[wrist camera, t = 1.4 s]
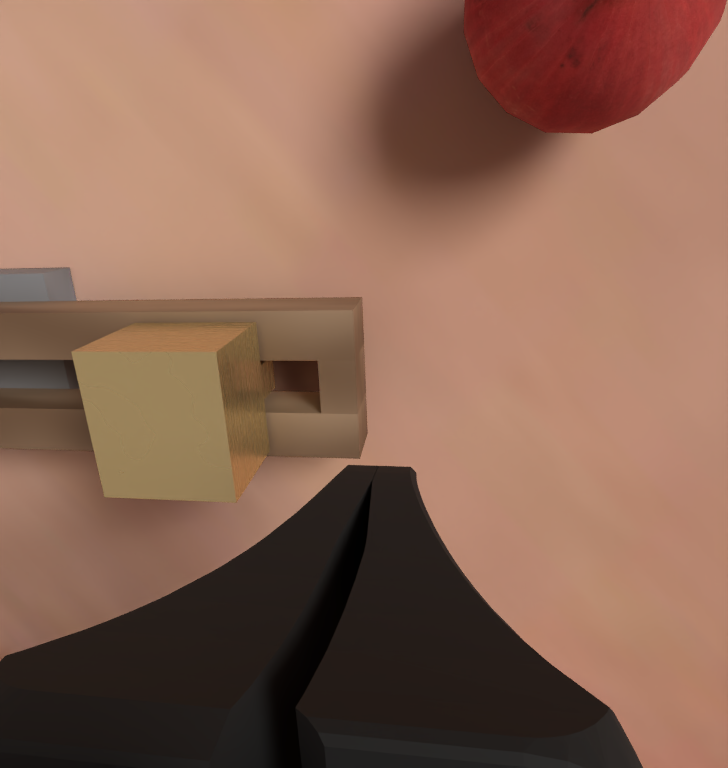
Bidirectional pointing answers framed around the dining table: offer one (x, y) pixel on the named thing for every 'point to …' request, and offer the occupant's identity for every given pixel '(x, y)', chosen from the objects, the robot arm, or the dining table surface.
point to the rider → (176, 409)
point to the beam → (100, 318)
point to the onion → (584, 55)
